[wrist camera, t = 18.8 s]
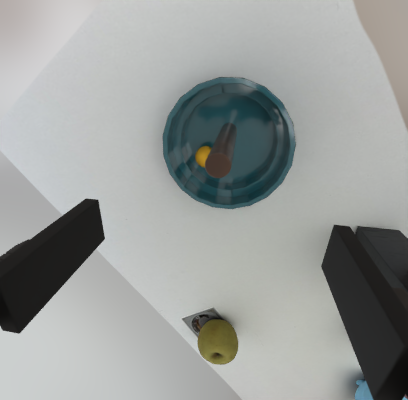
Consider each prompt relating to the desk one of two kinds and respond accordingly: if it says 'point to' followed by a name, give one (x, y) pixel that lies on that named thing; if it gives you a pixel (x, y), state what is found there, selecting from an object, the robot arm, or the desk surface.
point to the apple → (218, 342)
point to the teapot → (364, 391)
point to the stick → (222, 152)
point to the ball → (202, 155)
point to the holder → (387, 253)
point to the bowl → (244, 145)
